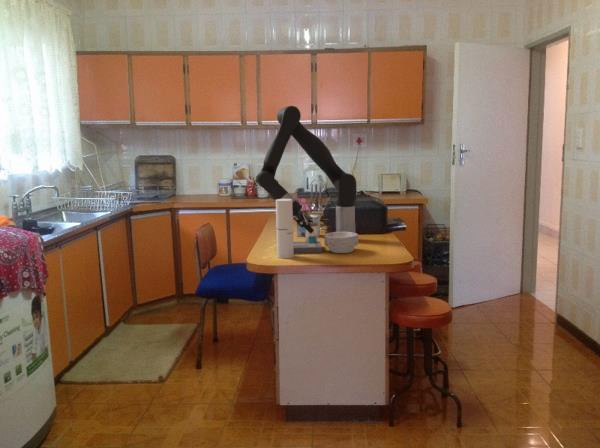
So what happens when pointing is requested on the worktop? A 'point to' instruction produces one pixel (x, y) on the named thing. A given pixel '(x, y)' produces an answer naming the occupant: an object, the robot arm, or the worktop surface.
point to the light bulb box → (302, 231)
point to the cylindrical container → (284, 228)
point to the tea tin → (312, 234)
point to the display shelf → (307, 247)
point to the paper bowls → (341, 241)
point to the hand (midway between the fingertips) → (314, 230)
